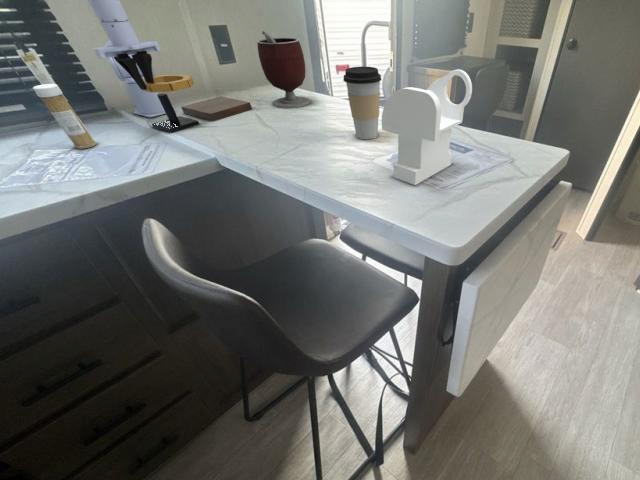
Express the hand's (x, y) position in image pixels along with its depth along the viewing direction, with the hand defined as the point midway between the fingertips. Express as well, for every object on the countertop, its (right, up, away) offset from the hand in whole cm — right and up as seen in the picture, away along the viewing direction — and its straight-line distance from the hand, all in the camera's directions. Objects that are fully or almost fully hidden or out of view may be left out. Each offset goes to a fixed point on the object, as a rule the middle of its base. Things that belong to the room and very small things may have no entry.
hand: (148, 88), depth 85 cm
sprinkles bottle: (-14, -17, -3) cm, 22 cm away
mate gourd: (+30, +11, +25) cm, 41 cm away
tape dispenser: (+74, -29, -14) cm, 81 cm away
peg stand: (+2, -5, +9) cm, 10 cm away
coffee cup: (+59, -12, +2) cm, 60 cm away
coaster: (+8, +5, +19) cm, 21 cm away
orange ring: (+3, +3, +4) cm, 5 cm away
